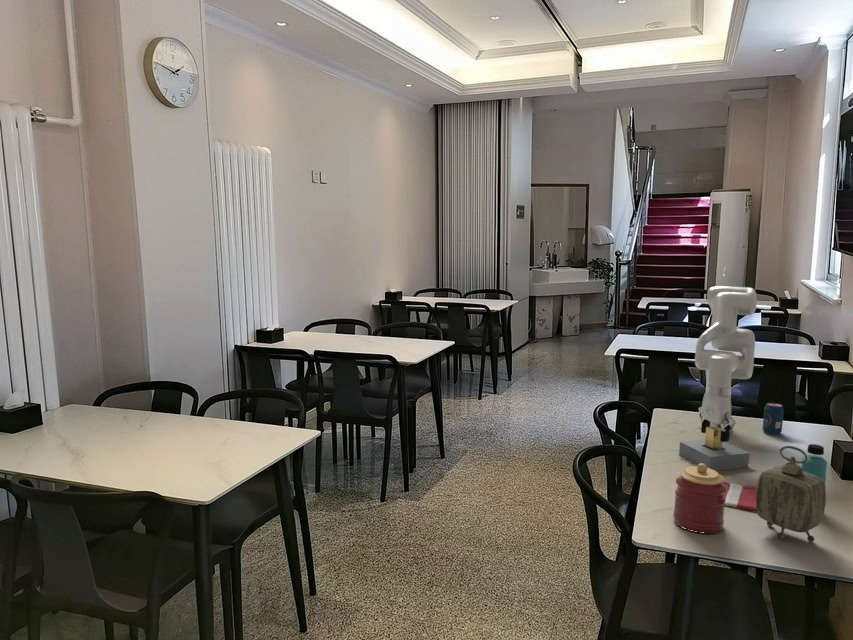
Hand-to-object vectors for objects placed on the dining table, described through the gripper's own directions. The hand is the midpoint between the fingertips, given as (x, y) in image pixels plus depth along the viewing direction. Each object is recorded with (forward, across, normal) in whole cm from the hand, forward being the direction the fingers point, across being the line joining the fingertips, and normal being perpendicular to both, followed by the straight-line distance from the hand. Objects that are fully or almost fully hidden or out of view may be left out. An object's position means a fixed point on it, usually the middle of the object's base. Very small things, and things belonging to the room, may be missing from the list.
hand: (714, 436), depth 227 cm
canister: (+8, +41, -39) cm, 58 cm away
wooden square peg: (+9, 0, 0) cm, 9 cm away
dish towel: (+9, +27, -17) cm, 34 cm away
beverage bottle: (+8, +42, -1) cm, 43 cm away
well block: (+9, 0, 0) cm, 9 cm away
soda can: (+10, -21, +46) cm, 51 cm away
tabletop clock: (+8, +53, -21) cm, 58 cm away
